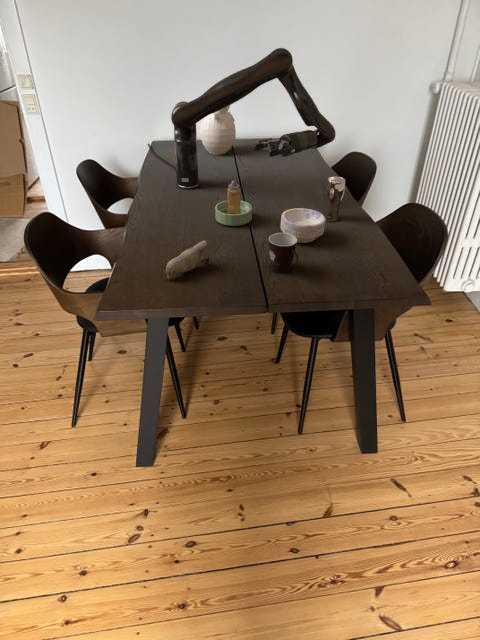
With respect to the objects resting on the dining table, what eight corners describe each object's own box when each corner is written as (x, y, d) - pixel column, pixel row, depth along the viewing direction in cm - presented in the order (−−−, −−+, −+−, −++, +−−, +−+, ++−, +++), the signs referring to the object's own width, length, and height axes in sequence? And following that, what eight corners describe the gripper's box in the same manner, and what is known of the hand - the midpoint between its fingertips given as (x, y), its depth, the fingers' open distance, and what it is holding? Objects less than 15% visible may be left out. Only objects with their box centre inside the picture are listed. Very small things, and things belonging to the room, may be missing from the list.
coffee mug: (265, 261, 138) (266, 233, 132) (291, 260, 139) (294, 232, 133) (270, 281, 129) (272, 251, 123) (298, 279, 130) (301, 250, 124)
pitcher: (235, 157, 220) (235, 104, 205) (199, 157, 220) (196, 104, 205) (236, 147, 235) (236, 96, 219) (202, 146, 235) (200, 96, 220)
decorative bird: (162, 277, 130) (159, 255, 126) (201, 258, 140) (199, 237, 135) (173, 284, 128) (171, 262, 123) (212, 264, 137) (211, 243, 132)
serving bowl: (208, 218, 163) (207, 205, 160) (236, 209, 170) (236, 197, 167) (230, 231, 155) (230, 218, 152) (259, 221, 162) (259, 208, 159)
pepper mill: (225, 217, 162) (224, 180, 154) (235, 213, 165) (235, 177, 156) (233, 221, 160) (232, 184, 151) (243, 218, 162) (243, 181, 153)
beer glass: (339, 222, 161) (346, 183, 152) (320, 221, 162) (326, 182, 153) (340, 215, 166) (346, 176, 157) (321, 213, 167) (327, 175, 158)
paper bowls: (326, 231, 156) (329, 210, 151) (318, 250, 144) (321, 228, 139) (285, 224, 159) (287, 204, 154) (274, 243, 148) (276, 221, 143)
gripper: (281, 128, 167) (249, 135, 159) (308, 137, 158) (275, 144, 150) (280, 148, 172) (249, 156, 163) (306, 157, 163) (274, 166, 155)
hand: (262, 150), depth 157 cm, fingers open, 8 cm apart
